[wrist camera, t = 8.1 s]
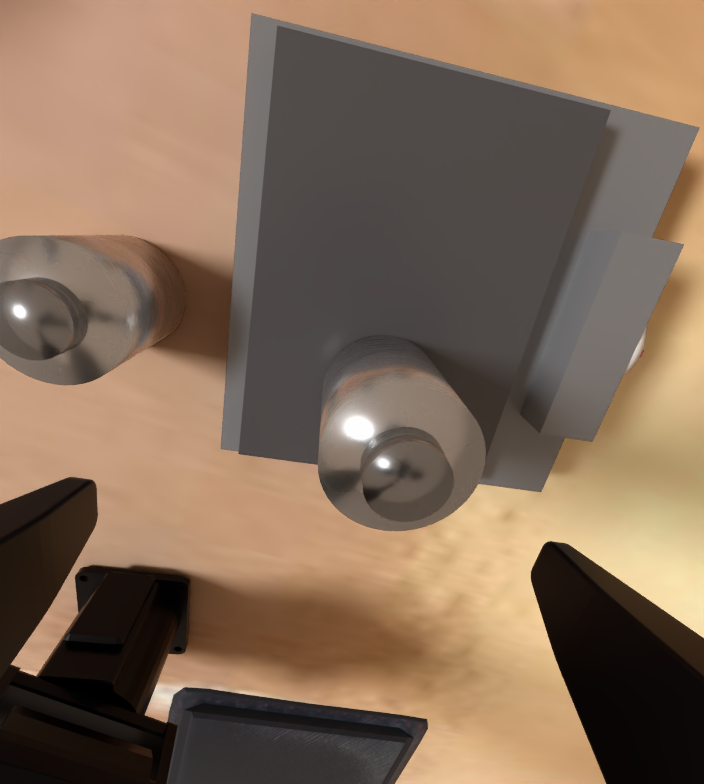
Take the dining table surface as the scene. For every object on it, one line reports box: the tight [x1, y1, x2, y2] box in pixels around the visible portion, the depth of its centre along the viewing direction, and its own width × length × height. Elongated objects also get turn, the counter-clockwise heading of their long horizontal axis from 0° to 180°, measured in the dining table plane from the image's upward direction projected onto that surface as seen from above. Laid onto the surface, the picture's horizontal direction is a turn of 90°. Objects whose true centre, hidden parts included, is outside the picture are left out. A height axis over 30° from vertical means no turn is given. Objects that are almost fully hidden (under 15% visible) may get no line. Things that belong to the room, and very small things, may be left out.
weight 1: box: [0, 235, 186, 385], centre depth 15 cm, size 5×5×7 cm
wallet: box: [167, 687, 428, 784], centre depth 32 cm, size 20×2×15 cm
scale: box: [221, 13, 699, 492], centre depth 16 cm, size 16×16×4 cm
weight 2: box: [318, 335, 486, 531], centre depth 13 cm, size 5×5×7 cm
